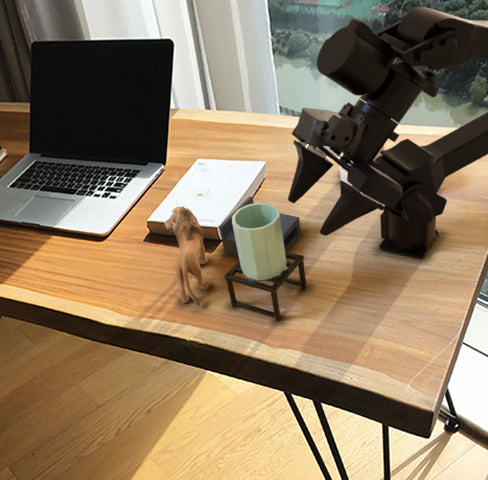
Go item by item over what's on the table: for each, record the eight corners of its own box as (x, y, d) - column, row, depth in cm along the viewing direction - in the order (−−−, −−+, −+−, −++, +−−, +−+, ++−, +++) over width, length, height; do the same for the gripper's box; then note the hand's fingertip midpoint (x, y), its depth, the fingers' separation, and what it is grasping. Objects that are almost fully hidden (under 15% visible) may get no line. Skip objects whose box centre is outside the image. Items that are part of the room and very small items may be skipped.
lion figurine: (173, 254, 107) (159, 205, 101) (206, 246, 106) (194, 197, 101) (182, 313, 95) (168, 262, 90) (219, 304, 95) (208, 253, 89)
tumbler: (284, 249, 92) (277, 199, 87) (288, 276, 88) (280, 225, 83) (241, 255, 93) (231, 206, 88) (242, 282, 89) (232, 233, 84)
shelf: (301, 233, 104) (297, 205, 101) (272, 265, 99) (267, 238, 96) (254, 222, 109) (249, 196, 106) (224, 253, 104) (218, 226, 101)
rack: (307, 286, 94) (304, 255, 91) (279, 322, 90) (273, 290, 86) (260, 273, 98) (254, 243, 95) (230, 306, 94) (223, 276, 91)
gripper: (297, 59, 86) (232, 165, 91) (375, 109, 71) (292, 231, 77) (356, 97, 92) (291, 194, 97) (440, 150, 77) (358, 261, 83)
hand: (305, 217), depth 88 cm, fingers open, 9 cm apart
